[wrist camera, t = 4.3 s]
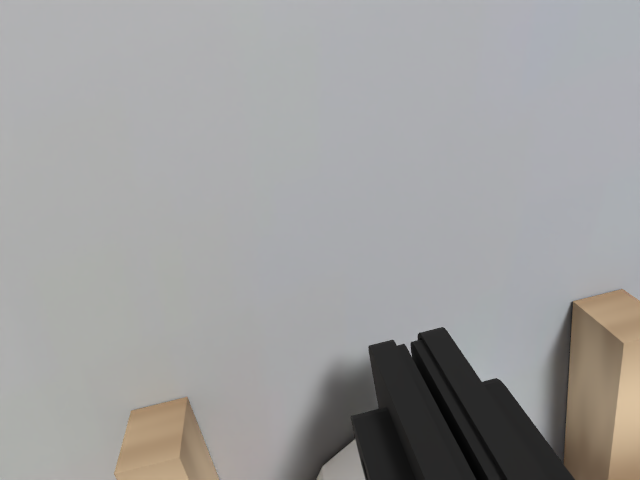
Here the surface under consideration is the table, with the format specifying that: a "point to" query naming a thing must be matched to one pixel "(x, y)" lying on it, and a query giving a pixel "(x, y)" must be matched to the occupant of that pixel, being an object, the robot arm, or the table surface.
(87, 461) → the table surface
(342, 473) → the white cup
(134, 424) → the guide channel
